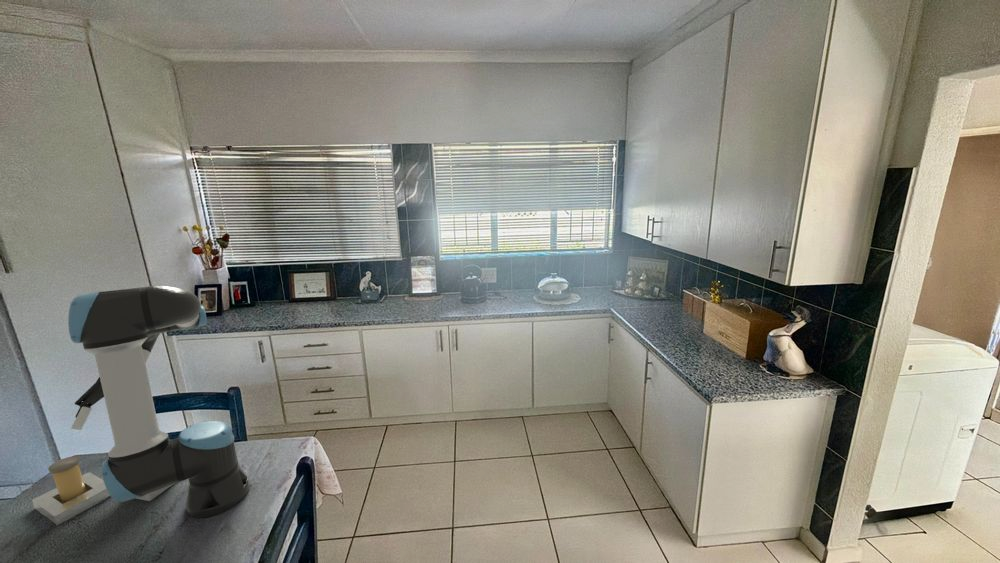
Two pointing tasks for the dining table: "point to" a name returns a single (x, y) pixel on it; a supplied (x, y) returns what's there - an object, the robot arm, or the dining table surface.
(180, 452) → the robot arm
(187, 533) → the dining table surface
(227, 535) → the dining table surface
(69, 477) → the yellow and grey cylinder
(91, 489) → the housing
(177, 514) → the dining table surface
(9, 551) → the dining table surface
